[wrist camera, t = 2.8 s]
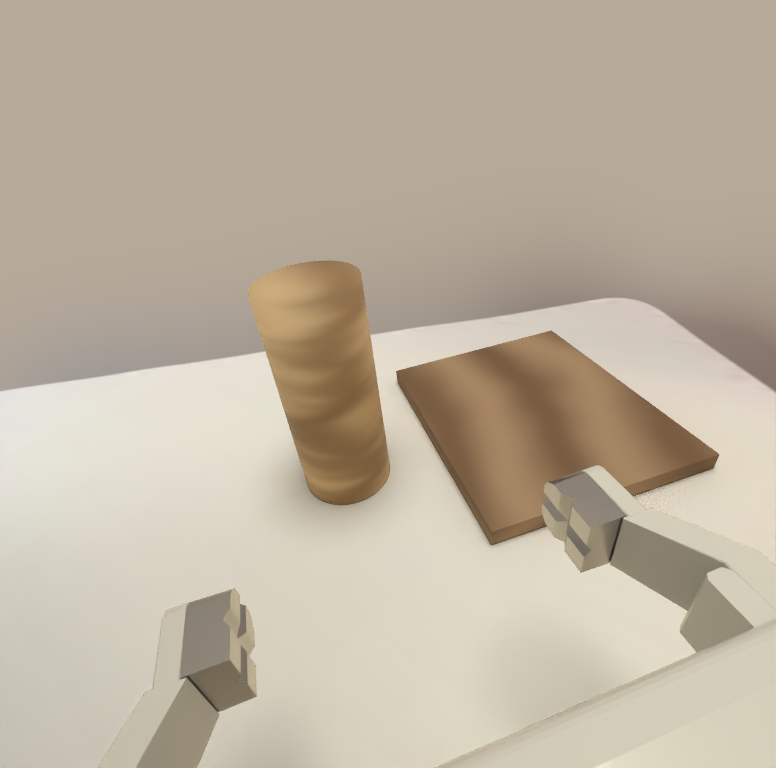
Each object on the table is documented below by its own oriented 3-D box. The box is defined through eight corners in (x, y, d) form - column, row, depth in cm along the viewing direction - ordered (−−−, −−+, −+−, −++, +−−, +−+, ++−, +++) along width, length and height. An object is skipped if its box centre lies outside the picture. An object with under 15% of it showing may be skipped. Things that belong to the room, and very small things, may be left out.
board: (491, 544, 21) (492, 531, 21) (397, 382, 33) (396, 371, 33) (713, 467, 23) (719, 454, 23) (550, 341, 35) (551, 330, 35)
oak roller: (313, 515, 24) (249, 317, 17) (301, 455, 28) (246, 274, 21) (400, 488, 25) (373, 289, 18) (377, 433, 29) (347, 253, 22)
